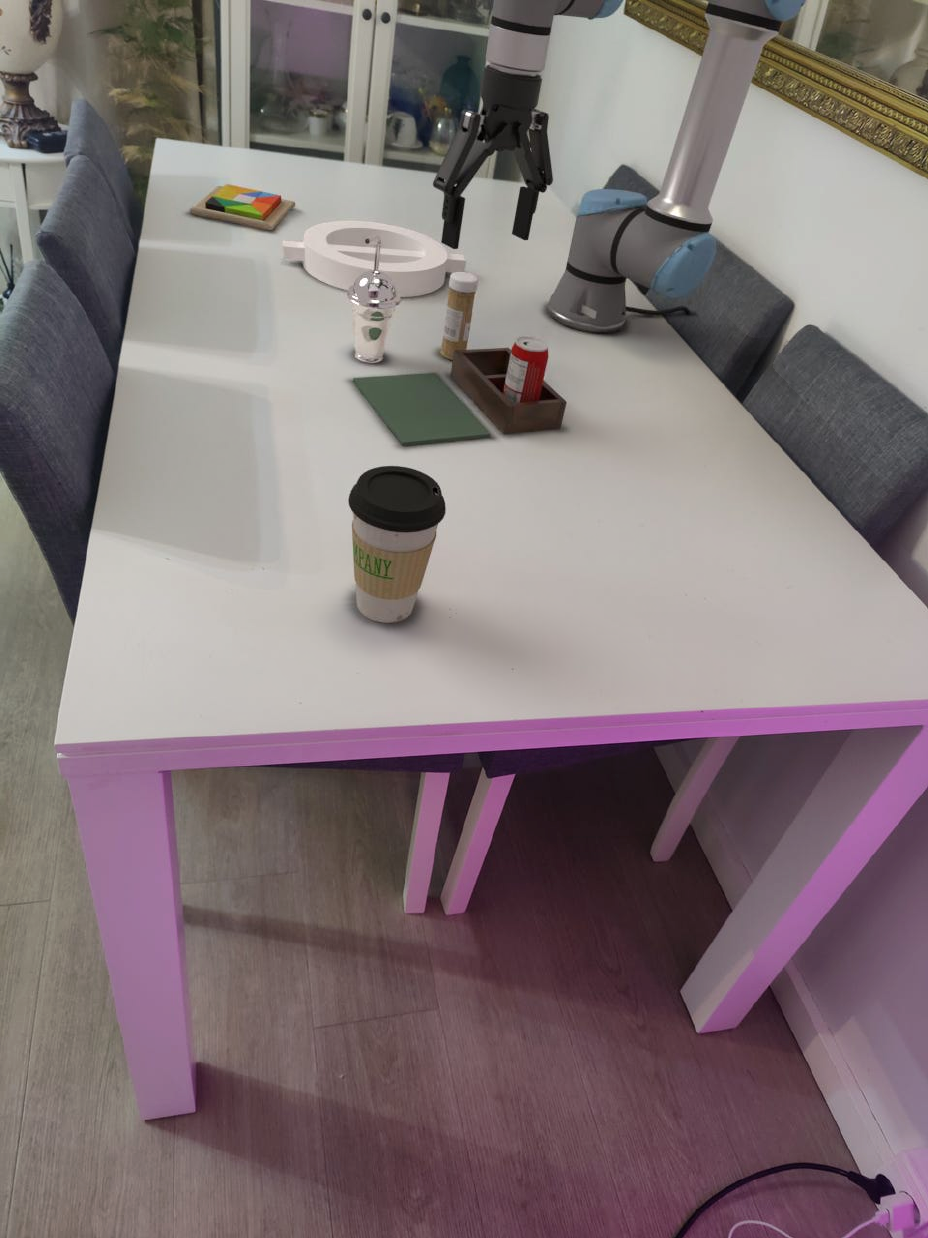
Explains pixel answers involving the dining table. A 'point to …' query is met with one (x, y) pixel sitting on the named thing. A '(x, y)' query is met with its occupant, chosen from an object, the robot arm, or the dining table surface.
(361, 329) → the cup with straw
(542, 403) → the can holder
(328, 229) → the ring with crossbar
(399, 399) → the rubber mat
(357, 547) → the coffee cup
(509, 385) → the soda can
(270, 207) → the wooden puzzle
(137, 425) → the dining table surface
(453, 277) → the sprinkles bottle
